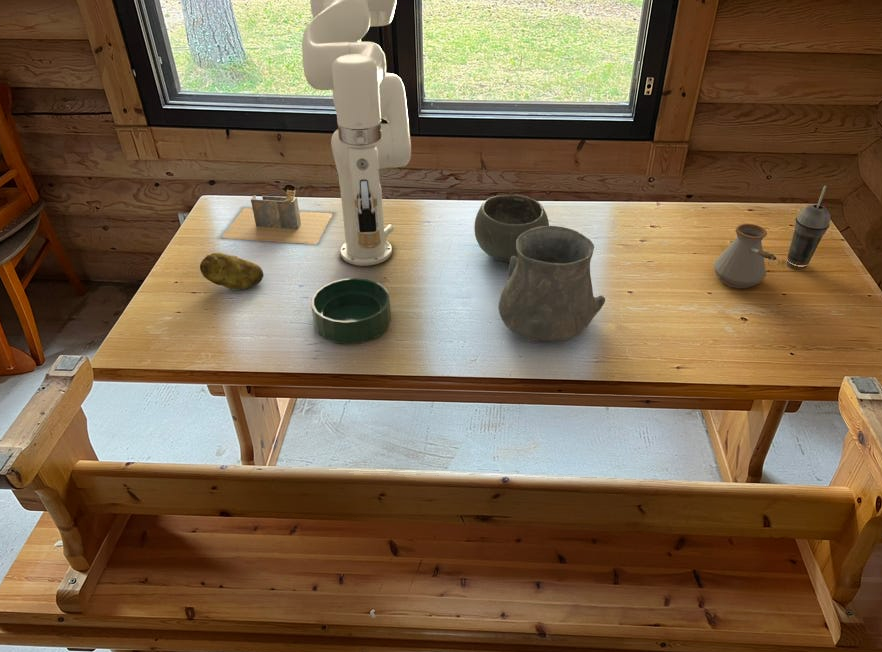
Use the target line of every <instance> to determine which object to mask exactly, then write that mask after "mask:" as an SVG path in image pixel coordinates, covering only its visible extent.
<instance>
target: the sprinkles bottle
mask: <svg viewBox="0 0 882 652" xmlns="http://www.w3.org/2000/svg"><path fill="white" fill-rule="evenodd" d="M367 185H368V180H367ZM360 186H361V182H360ZM359 194H360V192H359ZM368 196H371V194H368ZM360 197H362V195H360ZM354 202H355V215H356V226H357V233H358V244H359V246H361V247H362V248H375V247H377V246H379V245H380V243H381V240H380V233H379V215H378V204H377V199H374V198H373V208H374V211H375V216H376V231H375V232H362V233H361V232H360V231H359V220H358V212H359V206H358V199H357V200H355V199H354ZM361 204H362V201H361ZM369 204H370V201H369ZM370 205H371V204H370Z"/></svg>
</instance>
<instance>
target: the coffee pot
mask: <svg viewBox="0 0 882 652" xmlns="http://www.w3.org/2000/svg"><path fill="white" fill-rule="evenodd" d="M734 231H735V233H736V237H735V238H734V239H733V241H731V243H729V245H728V246H727V247H726V248H725V249H724V250H723V251H722V253H720V255H719V256H718V257H717V258H716V259H715V261H714V263H713V269H714V273H715V275H716V276H717V277H718V278H719V280H720V281H721V282H722V283H723V284H725V285H726V286H728V287H731V288H735V289H747V288H750V287H753V286H755V285H758V284H760V283H761V282H762V281H763V280H764V279H765V278H766V275H767V269H766V263H765V259H767V260H768V261H767V264H768V266H770V267H771V268H777V267H778V266H779V265H780V263H781V262H780V261H781V260H779V258H777V257H776V256H775V255H774V254H773V253H770V252H768V251H765V250H764V249H763V242H762V241H763V240H764V239H765V238H766V237H767V235H768V231H767V230H766V229H765V228H764V227H762V226H761V225H758V224H754V223H741V224H739V225H737V226H736V227H735V230H734ZM770 261H778V264H777V265H774V266H773V265H770Z"/></svg>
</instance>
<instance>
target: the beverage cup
mask: <svg viewBox="0 0 882 652" xmlns="http://www.w3.org/2000/svg"><path fill="white" fill-rule="evenodd" d="M826 190H827V185H823V188H822V191H821V193H820V196H819V198H818V201H817V204H816V203H815V204H814V203H813V204H809V205H807V206H805V207H803V208H802V209H801V210H800V211H799V212H798V213H797V214H798V215H797V216H796V217H795V219H794V221H795V222H794V230H793V235H792V238H791V241H790V245H789V250H788V254H787V257H786V258H787V259H788V261H789V262H791V263H793V264H796V265H807V264H808V265H809V264H810V262H811V260H812V258H813V256H814V253H815V252H816V250H817V248H818V246H819V244H820V242H821V240H822V238H823V236H824V235H825V234H826V233H827V231H828V229H829V228H830V226H831V225H830V224H831V215H830V212H829V210H828V209H827V208H826V206H824V205H821V203H822V201H823V197H824V195H825V192H826ZM787 259H786V262H785V264H786V266H787V267H788V268H789V269H792V270H795V271H803V270H805V269H807V266H808V265H807V266H804V267H798V266H794V265H792V264H790V263H789V262H788V261H787Z"/></svg>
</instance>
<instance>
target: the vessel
mask: <svg viewBox="0 0 882 652" xmlns="http://www.w3.org/2000/svg"><path fill="white" fill-rule="evenodd" d="M516 250H517V255H518V259H517V258H516V256H512V257H511V259H510V262H509V265H508V266H509V267H508V280H507V282H506V284H505V286H504V287H503V289H502V290H501V292H500V296H499V300H498V301H499V302H498V312H499V316H500V318H501V321H502V322H503V324H504V325H505V326H506V327H507V328H508V330H509V331H510V332H512V334H515V335H517V336H519V337H522V338H525V339H527V340H528V339H529V340H533V341H539V342H553V343H555V342H562V341H566V340H570V339H572V338H575V337H577V336H579V335H581V334H582V333H583V332H584V331H585V330H586V329H587V328H588V326H589V325H590V324H591V323H592V321H593V319H594V318H595V316H596V315H597V314H598V313H599V312H600V310H601V309H602V307H603V306H604V304H606V303H605V302H606V298H605V297H604V295H598V296H594V290H593V283H592V282H593V281H592V277H591V276H592V275H591V261H592V257H593V254H594V251H595V245H594V243H593V241H592V240H591V239H590V238H588V237H587V236H586V235H584V234H582V233H581V232H579V231H577V230H575V229H572V228H568V227H564V226H558V225H549V226H540V227H536V228H532V229H530V230H527V231H525V232H523V233H522V234H521V235H520V236H519V237H518V239H517V240H516Z"/></svg>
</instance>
